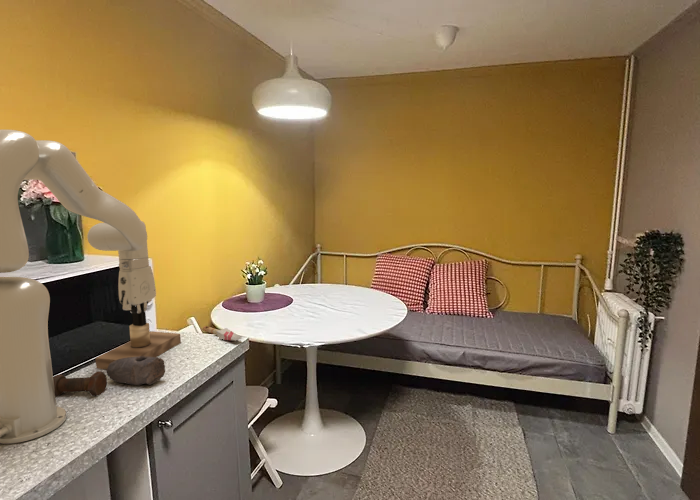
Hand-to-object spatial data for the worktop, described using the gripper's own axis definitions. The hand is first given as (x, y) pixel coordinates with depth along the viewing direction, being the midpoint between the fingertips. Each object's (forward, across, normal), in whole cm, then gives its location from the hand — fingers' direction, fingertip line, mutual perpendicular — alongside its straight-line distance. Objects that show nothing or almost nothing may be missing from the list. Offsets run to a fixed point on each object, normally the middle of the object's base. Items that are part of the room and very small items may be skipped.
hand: (139, 324), depth 125 cm
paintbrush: (+10, +18, -15) cm, 26 cm away
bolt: (+9, -24, 0) cm, 26 cm away
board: (+9, 0, 0) cm, 9 cm away
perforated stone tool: (+9, -16, -11) cm, 22 cm away
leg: (+8, -1, 0) cm, 9 cm away
